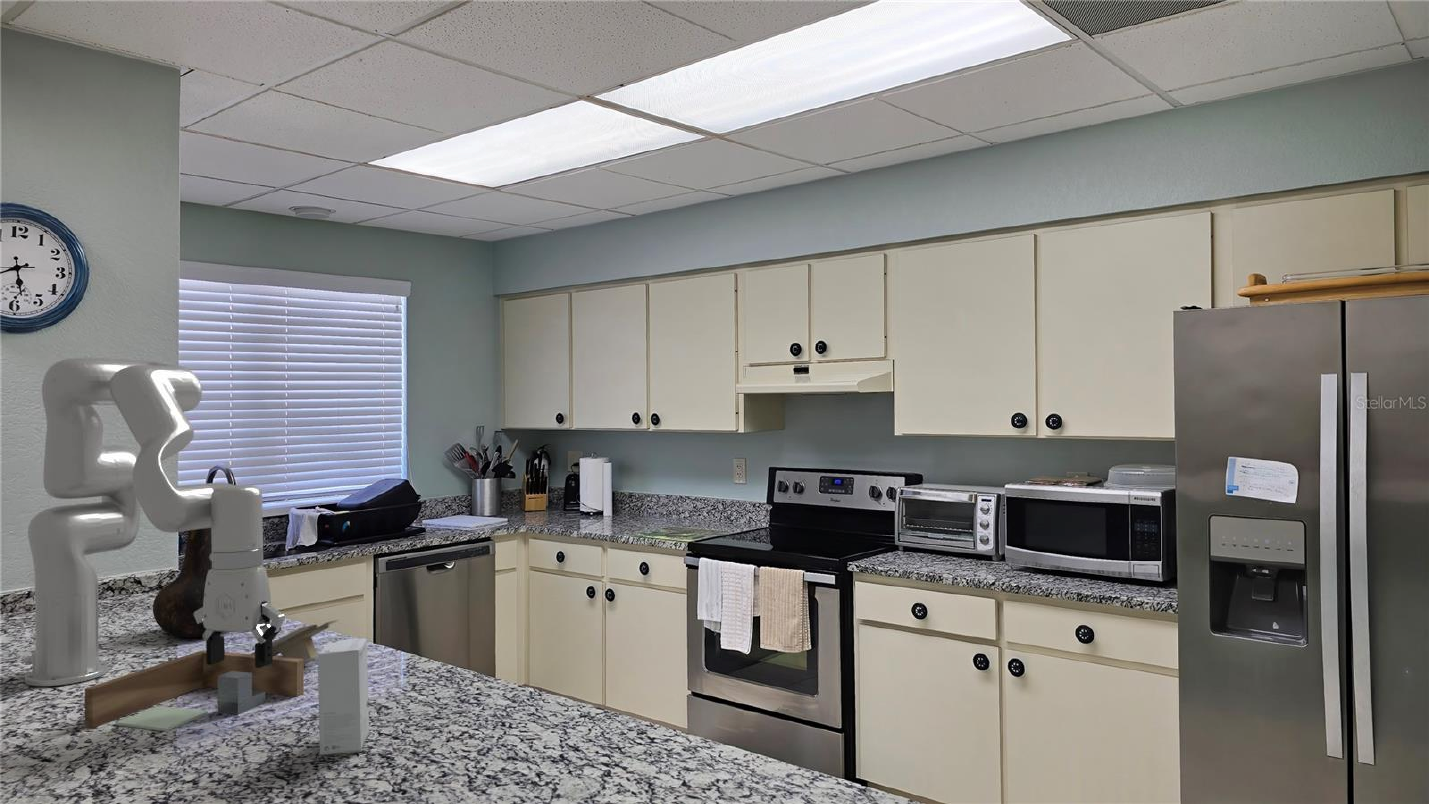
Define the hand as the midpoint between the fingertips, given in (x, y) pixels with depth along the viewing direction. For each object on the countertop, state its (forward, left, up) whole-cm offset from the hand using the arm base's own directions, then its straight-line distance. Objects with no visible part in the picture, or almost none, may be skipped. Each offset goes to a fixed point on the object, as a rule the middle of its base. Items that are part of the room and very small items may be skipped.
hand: (239, 664), depth 150 cm
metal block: (-1, +1, -8) cm, 8 cm away
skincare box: (+26, -8, -8) cm, 29 cm away
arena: (-7, -1, -8) cm, 10 cm away
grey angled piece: (-11, +22, -8) cm, 26 cm away
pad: (-9, -7, -8) cm, 13 cm away
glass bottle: (-47, +38, -8) cm, 61 cm away
